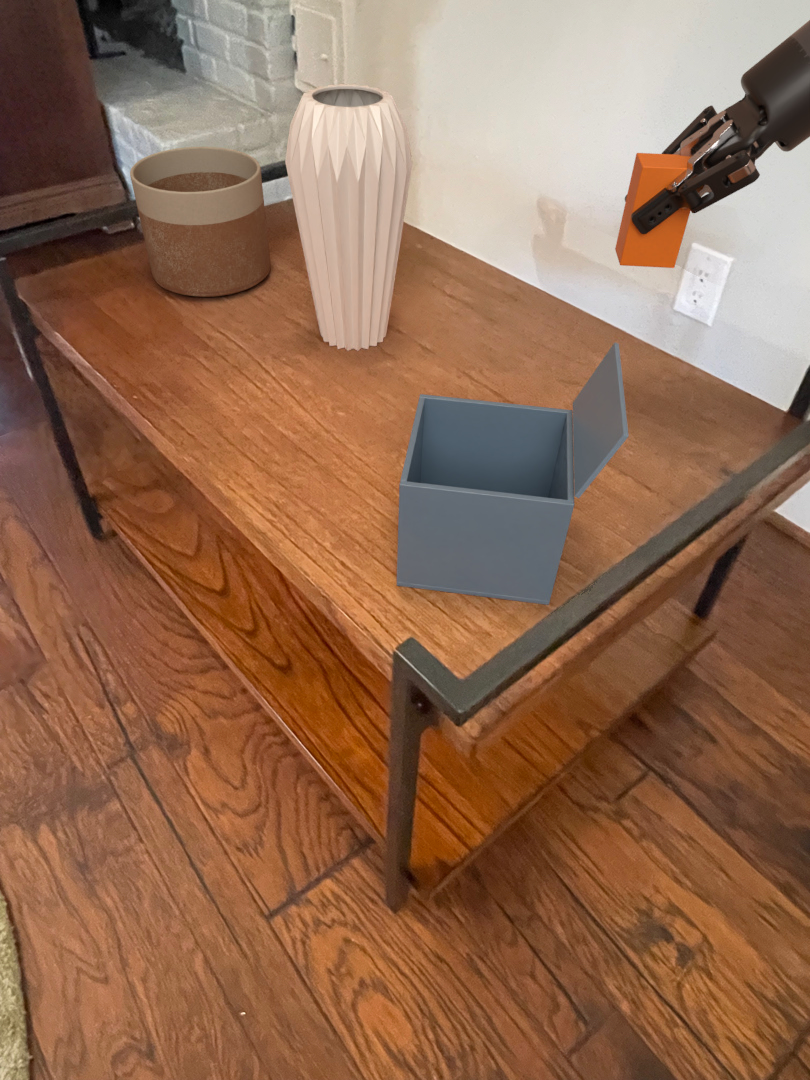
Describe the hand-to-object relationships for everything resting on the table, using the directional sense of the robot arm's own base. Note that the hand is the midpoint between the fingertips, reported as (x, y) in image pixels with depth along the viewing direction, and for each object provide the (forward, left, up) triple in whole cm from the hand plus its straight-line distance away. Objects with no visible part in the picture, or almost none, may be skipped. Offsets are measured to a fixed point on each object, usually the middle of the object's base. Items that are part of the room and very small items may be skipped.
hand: (633, 216), depth 70 cm
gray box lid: (+3, +26, -5) cm, 26 cm away
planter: (+51, -20, -21) cm, 58 cm away
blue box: (+11, +26, -20) cm, 34 cm away
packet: (-2, 0, -4) cm, 4 cm away
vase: (+29, -8, -21) cm, 36 cm away
